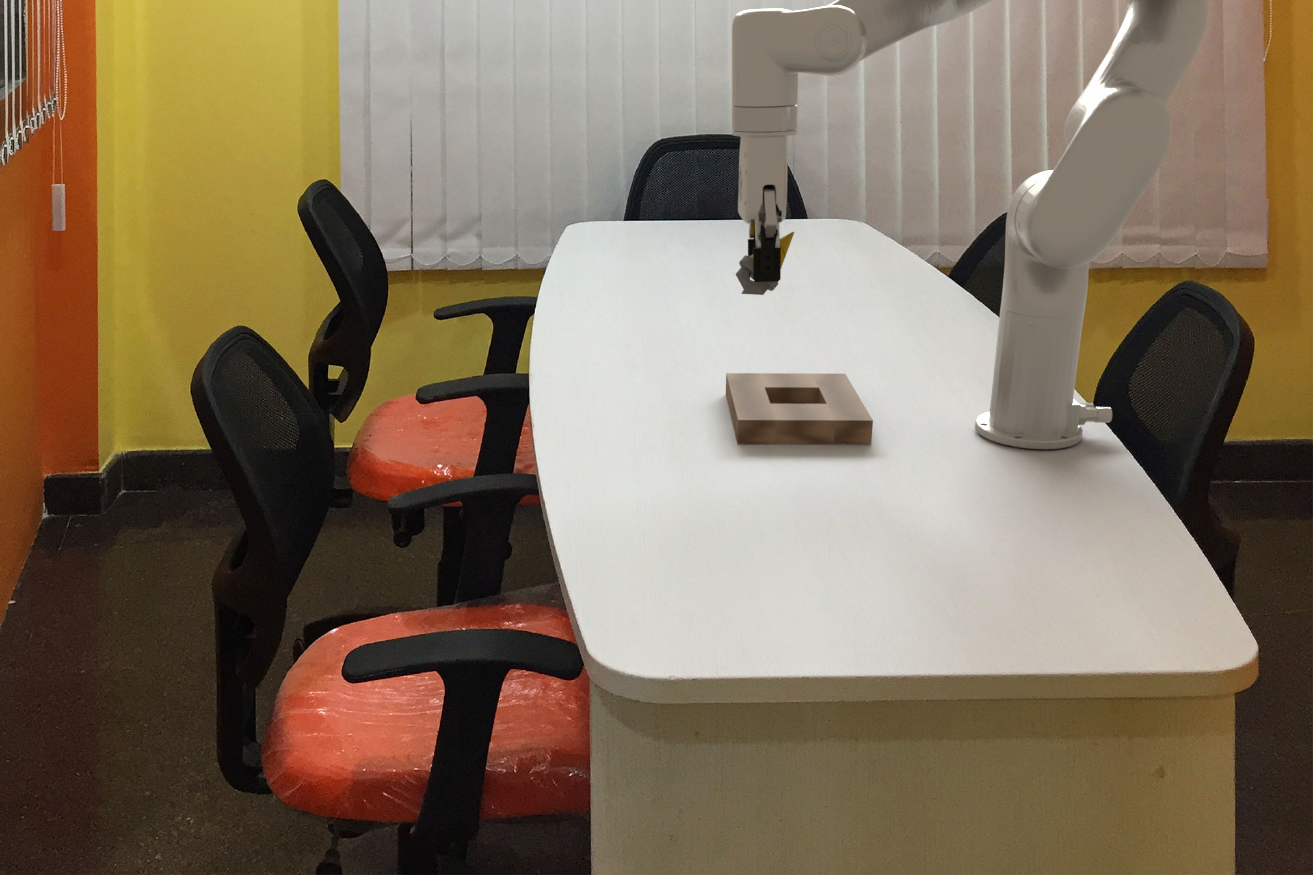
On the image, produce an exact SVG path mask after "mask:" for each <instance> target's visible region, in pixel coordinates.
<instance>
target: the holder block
mask: <svg viewBox="0 0 1313 875" xmlns="http://www.w3.org/2000/svg"><path fill="white" fill-rule="evenodd" d="M725 398H726V402H727V406H728V410H729V413H730V418H731V424H732V427H733V430H734V431H733V432H734V436H735V439H736V443H737V445H872V443H873V442H872V439H873V428H874V426H873V423H874V420H873V418H872V416H871V415H870V413H869V411H868V410H867V408H866V406H865V404H864V402H863V401H862V399H861V398H860V395H858V393H857V391H856V390H855V388H854V386H853V384H852V382H851V381H850V378H849V377H848V376H847V374H846V373H804V372H803V373H802V372H801V373H799V372H797V373H793V372H792V373H791V372H790V373H788V372H787V373H783V372H781V373H780V372H779V373H777V372H776V373H774V372H772V373H771V372H770V373H768V372H767V373H766V372H765V373H763V372H761V373H760V372H759V373H752V372H749V373H747V372H736V373H735V372H732V373H731V372H727V373H725Z"/></svg>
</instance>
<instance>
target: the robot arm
mask: <svg viewBox="0 0 1313 875" xmlns="http://www.w3.org/2000/svg"><path fill="white" fill-rule="evenodd" d="M992 1H993V0H835V1H834V2H832V3H830V4H827V5H825V6H819V7H813V8H808V9H801V10H800V9H799V10H789V9H785V8H757V9H756V8H755V9H746V10H742V11H739V12H737V13H736V14H735V16H734V17H733V21H732V25H731V26H732V27H731V28H732V29H731V37H732V38H731V41H732V42H731V55H732V56H731V58H732V59H731V60H732V61H731V62H732V63H731V64H732V65H731V68H732V70H731V76H732V77H731V78H732V79H731V81H732V83H731V84H732V92H731V93H732V96H731V97H732V98H731V99H732V106H731V107H732V108H731V109H732V118H731V119H732V120H731V121H732V123H731V124H732V130H731V133H732V136H735V137H740V141H739V142H740V143H739V154H738V155H739V157H738V158H739V159H738V196H737V198H738V200H737V213H738V214H739V216H740V218H741V219H742V221H743V222H744V223H746V224H749V226H748V227H749V228H748V236H749V237H748V239H747V256H751V255H752V254H753V279H752V281H755V282H777V281H778V282H780V281H781V276H782V275H781V274H782V272H781V271H782V270H781V269H782V267H781V247H780V239H781V238H780V237H781V236H780V235H781V234H780V223H782V222H783V221H785V220H786V216H787V215H786V214H787V204H788V203H787V200H788V156H789V153H788V137H789V136H796V135H798V101H799V100H798V98H799V97H798V95H799V94H798V91H799V90H798V89H799V87H798V86H799V84H798V83H799V73H801V74H809V75H818V76H823V77H824V76H826V77H836V76H840V75H841V76H842V75H844V74H847V73H848V72H850V71H852V70H853V69H854V68H855V67H857V65H858V64H859V63H860V62H862V61H864V60H865V59H867V58H869V57H871V56H872V55H874V54H876V53H878V52H881V51H882V50H885V49H886V48H888V47H891V46H892V45H894V44H896V43H897V42H900V41H901V40H904V39H905V38H909V37H910V36H912V35H914V34H917V33H919V32H921V31H923V30H925V29H929V28H931V27H934V26H938V25H941V24H945V23H948V22H951V21H954V20H956V19H958V18H960V17H963V16H965V15H968V14H969V13H972V12H973V11H975V10H977V9H979V8H981V7H983V6H985V5H986V4H988V3H990V2H992ZM1125 1H1126V2H1125V4H1126V6H1125V7H1126V8H1125V13H1124V18H1123V21H1122V24H1121V26H1120V28H1119V30H1118V32H1117V34H1116V36H1115V38H1114V40H1113V42H1112V44H1111V46H1110V47H1109V49H1108V51H1107V53H1106V55H1105V56H1104V58H1103V59H1102V61H1101V63H1100V64H1099V66H1098V67H1097V69H1096V70H1095V72H1094V73H1093V75H1092V77H1091V79H1090V81H1089V82H1087V83H1088V84H1087V85H1086V87H1085V88H1084V89H1083V91H1082V92H1081V95H1080V96H1079V97H1078V99H1077V100H1076V102H1075V103H1074V104H1073V105H1072V107H1071V109H1070V111H1069V113H1068V115H1067V117H1066V119H1065V122H1064V123H1065V124H1064V127H1063V138H1064V139H1063V140H1064V144H1065V146H1066V149H1065V150H1064V152H1063V153H1062V155H1061V156H1060V158H1059V160H1058V162H1057V164H1056V165H1055V166H1054V168H1053V169H1051V170H1050V169H1049V170H1045V171H1041V172H1038V173H1036V174H1033V175H1031V176H1029V177H1028V178H1027V179H1025V180H1024V181H1023V182H1022V183H1021V184H1020V185H1019V186H1018V187H1017V189H1016V190H1015V191H1014V193H1013V195H1012V197H1011V199H1010V202H1009V204H1008V209H1007V212H1006V213H1007V214H1006V220H1005V243H1004V245H1005V246H1004V247H1005V248H1004V250H1005V251H1004V269H1003V272H1004V273H1003V283H1002V293H1001V302H1000V310H999V319H998V329H997V330H998V331H997V340H996V348H995V358H994V368H993V378H992V384H991V385H992V386H991V388H992V389H991V394H990V406H989V411H986V412H983V413H982V414H980V415H978V416H977V417H976V420H975V423H974V424H975V425H974V428H975V431H976V432H977V434H979V435H980V436H982V437H983V438H985V439H987V440H988V441H989V440H990V441H992V442H995V443H998V444H1001V445H1003V446H1005V445H1006V446H1008V447H1009V446H1010V447H1013V448H1014V447H1015V448H1020V449H1028V450H1029V449H1030V450H1060V449H1065V448H1069V447H1072V446H1075V445H1077V444H1078V443H1080V442H1081V440H1083V432H1084V431H1083V428H1082V427H1081V426H1084V425H1085V424H1086V423H1088V422H1091V423H1095V424H1097V423H1100V424H1101V423H1103V424H1104V423H1105V424H1107V423H1111V422H1112V420H1113V409H1112V408H1111V406H1095V404H1094V403H1093V402H1081V403H1079V402H1078V400H1076V399H1075V398H1074V395H1075V388H1076V379H1077V373H1078V372H1077V371H1078V365H1079V364H1078V362H1079V357H1080V348H1081V342H1082V340H1081V339H1082V332H1083V323H1084V317H1085V311H1086V305H1087V296H1088V287H1089V272H1090V270H1089V269H1090V263H1091V262H1093V261H1094V260H1095V259H1096V258H1098V257H1099V256H1100V255H1101V254H1102V253H1103V252H1104V251H1106V249H1107V248H1108V247H1109V246H1110V244H1111V243H1112V241H1113V240H1114V239H1115V237H1116V236H1117V235H1118V233H1119V231H1120V230H1121V229H1122V227H1123V225H1124V223H1125V222H1126V220H1127V219H1128V218H1129V216H1130V215H1131V213H1132V212H1133V210H1134V209H1135V207H1136V205H1137V204H1138V202H1139V201H1140V199H1141V198H1142V196H1143V195H1144V193H1145V192H1146V190H1147V188H1148V187H1149V186H1150V184H1151V182H1152V180H1153V179H1154V178H1155V176H1156V175H1157V173H1158V171H1159V169H1160V168H1161V166H1162V164H1163V163H1164V160H1165V159H1166V156H1167V154H1168V151H1169V148H1170V145H1171V142H1172V137H1173V122H1172V117H1171V114H1170V111H1169V109H1168V108H1167V106H1168V104H1169V102H1170V100H1172V97H1173V96H1174V94H1175V92H1176V91H1177V89H1178V87H1179V86H1180V84H1181V82H1182V80H1183V78H1184V76H1185V75H1186V73H1187V72H1188V69H1189V68H1190V66H1191V64H1193V61H1194V59H1195V57H1196V56H1197V53H1198V51H1199V48H1200V47H1201V44H1202V41H1203V40H1204V36H1205V32H1206V27H1207V22H1208V14H1209V12H1208V10H1209V8H1208V7H1209V5H1208V3H1209V2H1208V0H1125Z"/></svg>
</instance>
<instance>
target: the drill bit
mask: <svg viewBox="0 0 1313 875" xmlns="http://www.w3.org/2000/svg"><path fill="white" fill-rule="evenodd" d="M794 234H795V231H791V232H790V233H788V234H786V235H783V236H782V237H781V238H780V247H781V268H782V267H783V264H784V262H785V259H786V256H787V254H788V251H789V248H790V246H791V243H792V239H793V237H794ZM738 264H739V266H740V268H739V269H738V270H737V272H736V273H735V276H736V278H737V279H738V281H739V283H740V285H741V287H742V289H743V290H742V292H741V293H740V294H742V295H753V296H754V295H755V296H756V295H759V296H764V294H766V292H767V291H770V292H773V291H774V290H775V289H776V287H778V285H779V281H777V282H755V281H754V280H753V254H752V255H751V256H748V254H747V255H746V254H745V255H744V256H743V257H742V258H741V259H740V260H739V263H738Z"/></svg>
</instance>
